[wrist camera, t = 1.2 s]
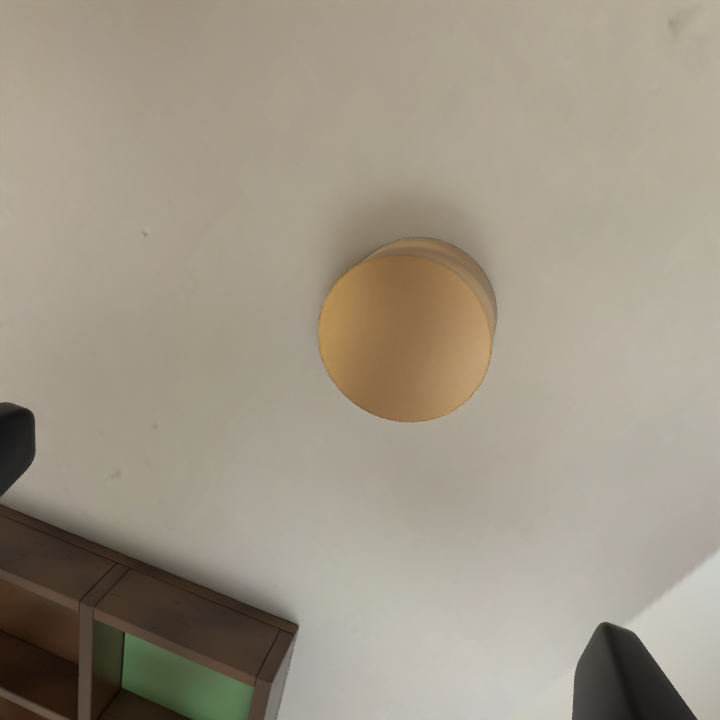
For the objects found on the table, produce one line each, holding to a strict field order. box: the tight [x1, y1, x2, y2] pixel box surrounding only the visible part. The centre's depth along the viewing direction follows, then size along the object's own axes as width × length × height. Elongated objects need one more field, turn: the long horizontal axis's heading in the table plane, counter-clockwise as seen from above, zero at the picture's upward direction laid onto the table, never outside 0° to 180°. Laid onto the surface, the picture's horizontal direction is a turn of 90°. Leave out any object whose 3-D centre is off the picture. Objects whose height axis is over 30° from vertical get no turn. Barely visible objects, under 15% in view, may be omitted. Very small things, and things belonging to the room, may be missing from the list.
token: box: [318, 238, 497, 422], centre depth 17 cm, size 5×5×3 cm
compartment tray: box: [0, 505, 299, 720], centre depth 29 cm, size 17×17×3 cm
